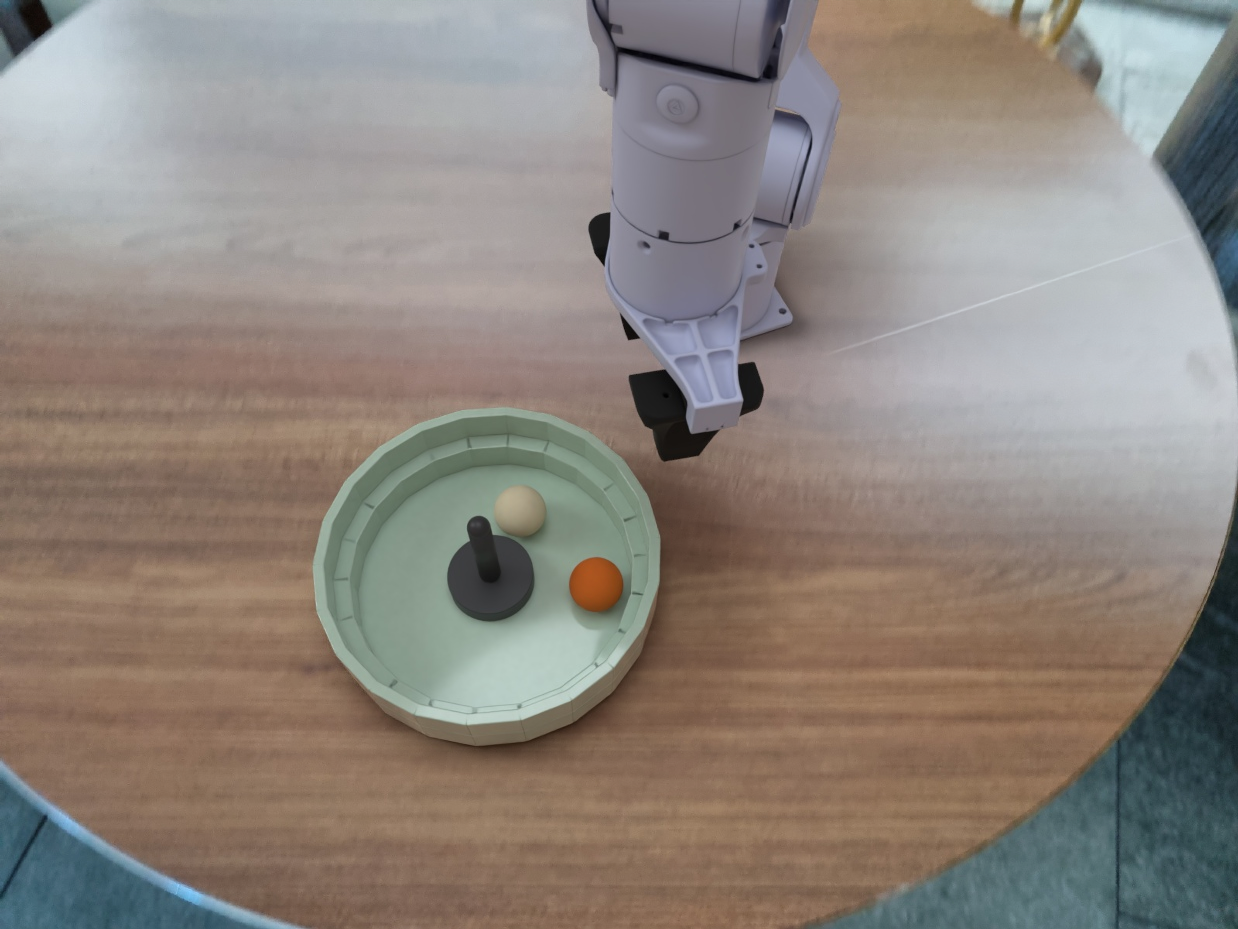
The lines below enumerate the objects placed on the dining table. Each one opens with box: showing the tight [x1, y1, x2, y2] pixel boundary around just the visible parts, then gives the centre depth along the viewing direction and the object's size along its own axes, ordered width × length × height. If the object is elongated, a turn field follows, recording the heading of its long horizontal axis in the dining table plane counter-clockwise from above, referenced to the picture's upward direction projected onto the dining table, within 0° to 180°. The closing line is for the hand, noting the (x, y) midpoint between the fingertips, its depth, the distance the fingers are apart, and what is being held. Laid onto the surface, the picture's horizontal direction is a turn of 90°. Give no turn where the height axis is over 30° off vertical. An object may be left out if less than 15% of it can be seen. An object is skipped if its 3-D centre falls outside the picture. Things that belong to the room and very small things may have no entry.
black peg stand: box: [447, 516, 534, 621], centre depth 49 cm, size 5×5×8 cm
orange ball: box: [569, 557, 623, 612], centre depth 51 cm, size 3×3×3 cm
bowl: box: [312, 406, 662, 747], centre depth 51 cm, size 18×18×5 cm
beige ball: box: [494, 485, 546, 537], centre depth 53 cm, size 3×3×3 cm
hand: (661, 390), depth 48 cm, fingers open, 7 cm apart
